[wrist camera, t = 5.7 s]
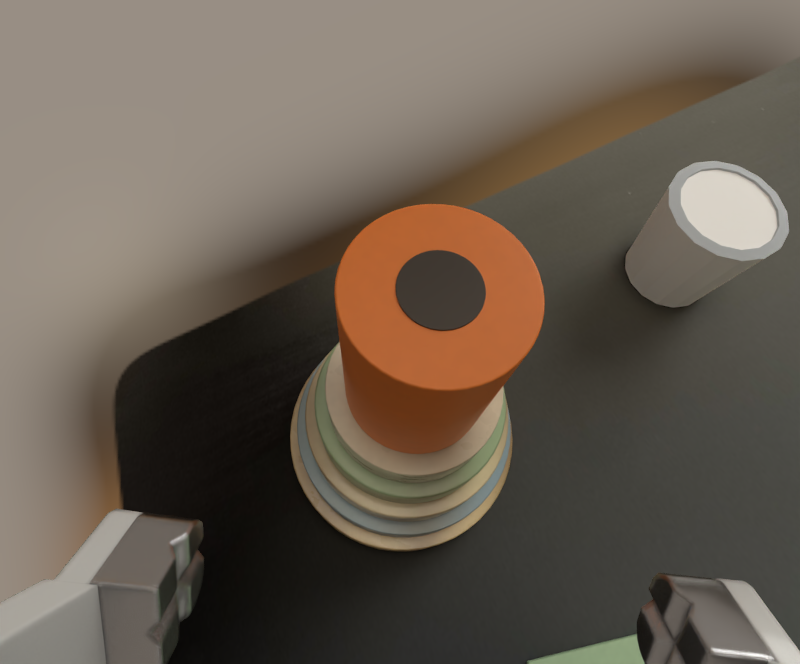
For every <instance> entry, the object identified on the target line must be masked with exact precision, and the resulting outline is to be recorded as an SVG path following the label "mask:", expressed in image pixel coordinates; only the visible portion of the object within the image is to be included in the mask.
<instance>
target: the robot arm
mask: <svg viewBox="0 0 800 664" xmlns="http://www.w3.org/2000/svg"><path fill="white" fill-rule="evenodd" d="M202 540H203V523H202V522H201V521H200V520H196V519H189V518H182V517H175V516H168V515H161V514H154V513H147V512H144V513H141V512H135V511H128V510H121V509H115V510H113V511H112V512H109V513H108V514H107V515H106V516H105V517H104V519H103V520H102V521H101V522H100V524H99V525H98V526H97V527H96V529H95V530H94V531H93V532H92V533H91V535H90V536H89V537H88V538H87V540H86V541H85V542H84V543H83V544H82V546H81V547H80V548H79V549H78V551H77V552H76V553H75V554H74V556H73V557H72V558H71V559H70V560H69V562H68V563H67V564H66V565H65V567H64V568H63V569H62V570H61V572H60V573H59V574H58V575H57V576H56V578H55V579H54V580H47V579H44V580H42V581H40V582H38V583H36V584H34V585H33V586H31V587H29V588H27V589H25V590H23V591H21V592H19V593H17V594H15V595H14V596H12V597H10V598H8V599H6V600H4V601H2V602H0V664H167V663H168V661H169V659H170V657H171V655H172V653H173V651H174V648H175V646H176V644H177V642H178V640H179V623H180V622H181V621H182V620H184V619H185V618H187V617H188V616H189V615H190V614H191V612H192V610H193V608H194V606H195V603H196V601H197V598H198V595H199V591H200V588H201V584H202V580H203V572H204V557H203V556H202V555H201V554H200V552H199V551H198V550H197V549H198V547H199V545H200V543H201V542H202ZM649 591H650V593H651V595H652V597H653V600H652V601H650V602H649V603H647V604H646V605H645V606H643V607H642V608H641V611H640V614H639V617H638V620H637V641H638V645H639V650H640V653H641V656H642V658H643V661H644V663H645V664H800V651H799V650H798V649H797V647H796V646H795V644H794V643H793V642H792V640H791V639H790V638H789V636H788V635H787V634H786V632H785V631H784V629H783V628H782V627H781V625H780V624H779V623H778V621H777V620H776V619H775V617H774V616H773V614H772V613H771V612H770V610H769V609H768V608H767V606H766V605H765V604H764V602H763V601H762V600H761V598H760V597H759V595H758V594H757V593H756V591H755V590H754V589H753V587H751V586H750V585H749V584H747V583H746V582H744V581H737V580H727V579H717V578H715V579H712V578H704V577H695V576H686V575H676V574H667V573H658V574H657V575H656V576H655V577H654V578H653V579H652V582H651V584H650V587H649Z"/></svg>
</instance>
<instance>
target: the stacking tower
mask: <svg viewBox="0 0 800 664" xmlns="http://www.w3.org/2000/svg"><path fill="white" fill-rule="evenodd" d="M290 444H291V455H292V460H293V466H294V469H295V472H296V475H297V478H298V481H299V483H300V485H301V487H302V489H303V491H304V493H305V495H306V496H307V498H308V499H309V501H310V502H311V504H312V505H313V507H314V508H315V509H316V510H317V511H318V512H319V514H320V515H321V516H322V517H323V518H324V519H325V520H326V521H327V522H328V523H329V524H330V525H331V526H332V527H334V528H335V529H336V530H337V531H339V532H340V533H342V534H343V535H345V536H346V537H348V538H350V539H351V540H354V541H356V542H358V543H360V544H362V545H365V546H368V547H372V548H375V549H379V550H386V551H396V552H408V551H415V550H422V549H426V548H429V547H433V546H436V545H440V544H442V543H445V542H447V541H449V540H451V539H453V538H456V537H457V536H459V535H460V534H462V533H463V532H465V531H467V530H468V529H469V528H471V527H472V526H473V525H474V524H475V523H476V522H478V521H479V520H480V519H481V518H482V517H483V515H484V514H485V513H486V512H487V511H488V510H489V509H490V507H491V506H492V504H493V503H494V501H495V500H496V498H497V497H498V495H499V493H500V491H501V489H502V487H503V485H504V483H505V480H506V477H507V474H508V470H509V467H510V461H511V455H512V429H511V422H510V416H509V411H508V406H507V402H506V397H505V392H504V387H502V388H501V389H500V391H499V392H498V393H497V395H496V396H495V397H494V399H493V400H492V401H491V403H490V404H489V405H488V407H487V408H486V409H485V410H484V412H483V413H482V414H481V416H480V417H479V418H478V420H477V421H476V422H475V424H474V425H473V426H472V428H471V429H470V430H469V431H468V432H467V433H466V434H465V435H464V436H463V437H462V438H461V439H460V440H458V441H457V442H456V443H454V444H452V445H450V446H449V447H446V448H444V449H442V450H439V451H435V452H431V453H424V454H410V453H403V452H399V451H395V450H392V449H390V448H387V447H385V446H383V445H381V444H379V443H378V442H376V441H375V440H373V439H372V438H371V437H370V436H368V435H367V434H366V433H365V432H364V431H363V430H362V429H361V427H360V426H359V425H358V423H357V422H356V420H355V419H354V417H353V415H352V413H351V411H350V408H349V405H348V402H347V398H346V391H345V383H344V374H343V366H342V357H341V348H340V341H339V343H338V344H337V345H336V346H335V347H334V348H333V349H332V351H331V352H330V353H329V354H328V355H327V356H326V357H325V358H324V359H323V361H322V362H321V363H320V364H319V365H318V367H317V368H316V369H315V370H314V371H313V372H312V374H311V375H310V377H309V378H308V380H307V381H306V383H305V385H304V387H303V388H302V390H301V392H300V394H299V397H298V400H297V402H296V405H295V408H294V412H293V417H292V421H291V432H290Z"/></svg>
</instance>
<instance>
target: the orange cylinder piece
mask: <svg viewBox="0 0 800 664" xmlns="http://www.w3.org/2000/svg"><path fill="white" fill-rule="evenodd" d="M334 294H335V305H336V314H337V322H338V331H339V340H340V348H341V357H342V366H343V374H344V383H345V391H346V398H347V402H348V405H349V408H350V411H351V413H352V415H353V417H354V419H355V420H356V422H357V423H358V425H359V426H360V427H361V429H362V430H363V431H364V432H365V433H366V434H367V435H368V436H370V437H371V438H372V439H373V440H375V441H376V442H378V443H379V444H381V445H383V446H385V447H387V448H390V449H392V450H395V451H399V452H403V453H410V454H424V453H431V452H435V451H439V450H442V449H444V448H446V447H449V446H450V445H452V444H454V443H456V442H457V441H458V440H460V439H461V438H462V437H463V436H464V435H465V434H466V433H467V432H468V431H469V430H470V429H471V428H472V426H473V425H474V424H475V422H476V421H477V420H478V418H479V417H480V416H481V414H482V413H483V412H484V410H485V409H486V408H487V407H488V405H489V404H490V403H491V401H492V400H493V399H494V397H495V396H496V395H497V393H498V392H499V391H500V389H501V388H502V387H503V385H504V384H505V383H506V382H507V380H508V379H509V378H510V376H511V375H512V374H513V372H514V371H515V370H516V368H517V367H518V366H519V364H520V363H521V362H522V360H523V359H524V358H525V356H526V355H527V354H528V352H529V351H530V350H531V348H532V347H533V345H534V343H535V341H536V339H537V337H538V335H539V332H540V329H541V326H542V322H543V316H544V303H545V299H544V291H543V285H542V281H541V278H540V274H539V272H538V270H537V267H536V265H535V263H534V261H533V259H532V258H531V256H530V254H529V253H528V251H527V250H526V249H525V247H524V246H523V245H522V243H521V242H520V241H519V240H518V239H517V238H516V237H515V236H514V235H513V234H512V233H510V232H509V231H508V230H507V229H506V228H504V227H503V226H502V225H500V224H498V223H497V222H495V221H494V220H492V219H490V218H488V217H486V216H484V215H482V214H480V213H477V212H475V211H472V210H469V209H466V208H462V207H458V206H452V205H445V204H423V205H415V206H409V207H405V208H402V209H398V210H395V211H393V212H390V213H388V214H386V215H384V216H382V217H380V218H379V219H377V220H375V221H373V222H372V223H371V224H370V225H368V226H367V227H366V228H364V229H363V230H362V231H361V232H360V233H359V234H358V235H357V237H355V238H354V240H353V241H352V242H351V244H350V245H349V247H348V248H347V250H346V252H345V253H344V255H343V257H342V259H341V262H340V265H339V267H338V270H337V275H336V280H335V293H334Z"/></svg>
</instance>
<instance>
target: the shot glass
mask: <svg viewBox="0 0 800 664" xmlns="http://www.w3.org/2000/svg"><path fill="white" fill-rule="evenodd" d="M788 233H789V226H788V214H787V211H786V209H785V207H784V205H783V204H782V202H781V200H780V198H779V196H778V194H777V193H776V192H775V191H774V190H773V189H772V188H771V187H770V186H769V185H768V184H766V183H765V182H764V181H763V180H762V179H761V178H760V177H759V176H757V175H755V174H753V173H751V172H749V171H747V170H745V169H743V168H741V167H740V166H737V165H732V164H728V163H723V162H718V161H709V162H699V163H693V164H692V165H690V166H688V167H686V168H684V169H682V170H681V171H679V172H678V173H677V175H676V176H675V178H674V179H673V181H672V183H671V184H670V186H669V187H668V189H667V190H666V192H665V194H664V195H663V197H662V198H661V200H660V202H659V203H658V205H657V206H656V208H655V209H654V211H653V213H652V214H651V216H650V217H649V219H648V221H647V222H646V224H645V225H644V227H643V228H642V230H641V232H640V233H639V235H638V236H637V238H636V240H635V241H634V243H633V244H632V246H631V247H630V249H629V251H628V252H627V254H626V260H625V270H626V272H627V275H628V278H629V280H630V283H631V284H632V285H633V286H634V287H635V288H636V289H637V291H638V292H639V293H640V294H641V295H642V296H644V297H646V298H647V299H649V300H651V301H652V302H654V303H656V304H659V305H663V306H668V307H672V308H674V307H682V306H688V305H690V304H692V303H693V302H695V301H697V300H698V299H700V298H701V297H703V296H705V295H706V294H708V293H710V292H711V291H713V290H714V289H716V288H718V287H719V286H721V285H723V284H724V283H726V282H727V281H729V280H731V279H732V278H734V277H735V276H737V275H739V274H740V273H742V272H744V271H745V270H747V269H748V268H750V267H752V266H753V265H755V264H757V263H758V262H760V261H761V260H763V259H765V258H766V257H768V256H769V255H771V254H772V253H774V252H776V251H777V250H779V249H780V248H781V247H782V245H783V243H784V241H785V239H786V237H787V235H788Z"/></svg>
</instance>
